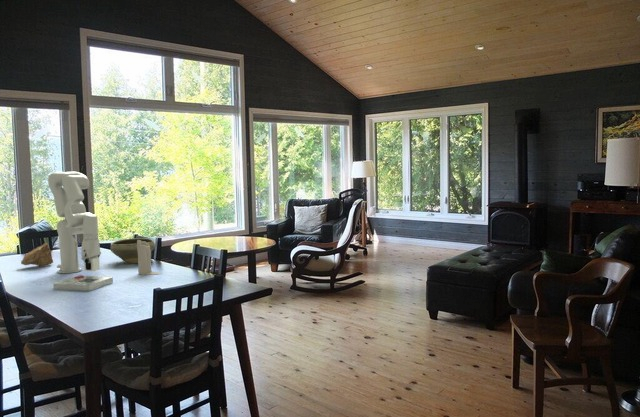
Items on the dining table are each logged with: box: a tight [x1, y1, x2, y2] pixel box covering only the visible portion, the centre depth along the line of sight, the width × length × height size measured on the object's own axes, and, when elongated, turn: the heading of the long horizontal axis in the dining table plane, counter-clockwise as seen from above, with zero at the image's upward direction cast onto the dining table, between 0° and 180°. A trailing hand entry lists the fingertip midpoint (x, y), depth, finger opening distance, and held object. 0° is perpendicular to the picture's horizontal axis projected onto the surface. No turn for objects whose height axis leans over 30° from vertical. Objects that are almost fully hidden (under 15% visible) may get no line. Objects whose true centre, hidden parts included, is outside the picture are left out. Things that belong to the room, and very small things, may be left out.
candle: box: [137, 240, 162, 276], centre depth 291 cm, size 7×14×20 cm, turn 78°
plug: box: [83, 257, 101, 272], centre depth 282 cm, size 6×5×7 cm
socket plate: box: [52, 274, 114, 292], centre depth 265 cm, size 22×18×4 cm
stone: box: [20, 242, 54, 267], centre depth 320 cm, size 18×10×15 cm, turn 122°
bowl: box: [110, 237, 156, 264], centre depth 330 cm, size 28×28×14 cm
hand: (92, 268), depth 283 cm, fingers closed on plug, 5 cm apart
